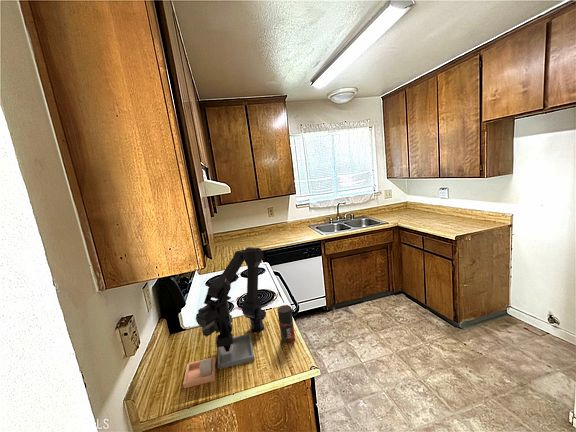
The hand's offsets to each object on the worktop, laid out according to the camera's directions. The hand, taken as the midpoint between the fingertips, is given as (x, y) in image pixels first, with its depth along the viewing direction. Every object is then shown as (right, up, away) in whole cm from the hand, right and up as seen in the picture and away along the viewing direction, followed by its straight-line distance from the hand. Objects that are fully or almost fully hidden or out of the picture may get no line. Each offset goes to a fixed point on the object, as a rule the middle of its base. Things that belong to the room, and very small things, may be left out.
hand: (227, 348), depth 112 cm
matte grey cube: (-6, -5, -9) cm, 12 cm away
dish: (-8, -6, -9) cm, 13 cm away
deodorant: (+25, 0, +6) cm, 26 cm away
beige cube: (0, 0, 0) cm, 0 cm away
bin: (+3, -3, +1) cm, 4 cm away
